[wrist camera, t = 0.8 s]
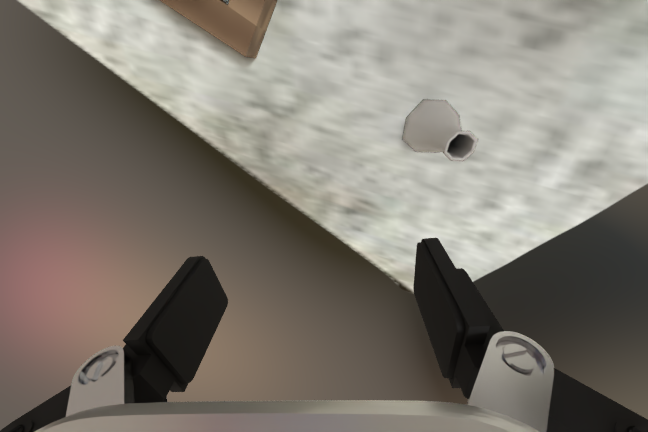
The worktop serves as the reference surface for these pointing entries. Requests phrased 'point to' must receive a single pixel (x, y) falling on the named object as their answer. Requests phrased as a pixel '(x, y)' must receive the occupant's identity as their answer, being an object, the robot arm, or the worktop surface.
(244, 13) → the walnut pocket block
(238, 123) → the worktop surface
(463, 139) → the flask
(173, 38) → the worktop surface
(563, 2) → the worktop surface
